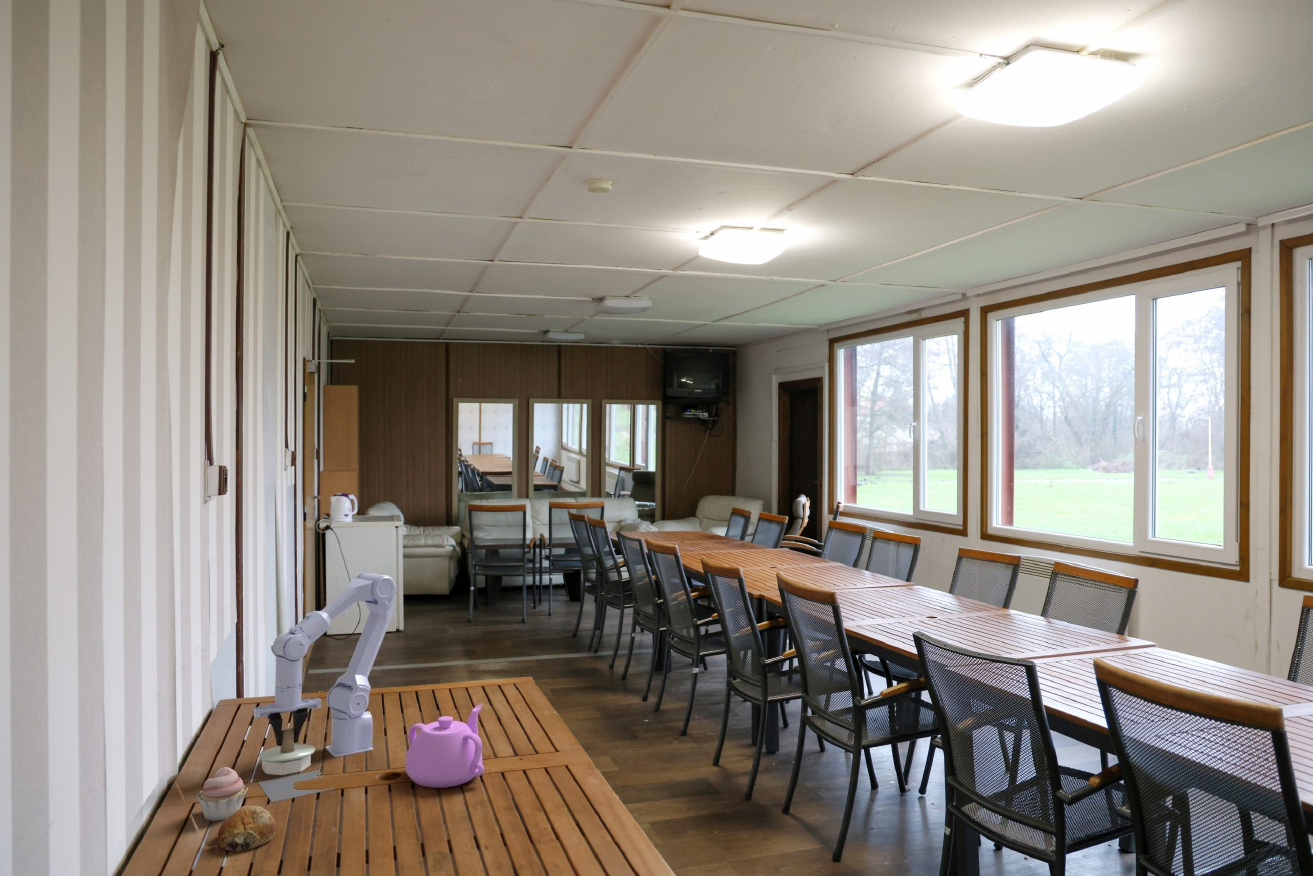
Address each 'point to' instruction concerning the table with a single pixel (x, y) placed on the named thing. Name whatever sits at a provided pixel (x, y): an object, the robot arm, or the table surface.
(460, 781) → the teapot
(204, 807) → the cupcake
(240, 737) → the table surface
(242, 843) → the bread roll
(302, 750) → the lid
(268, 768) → the bowl
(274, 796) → the mat
